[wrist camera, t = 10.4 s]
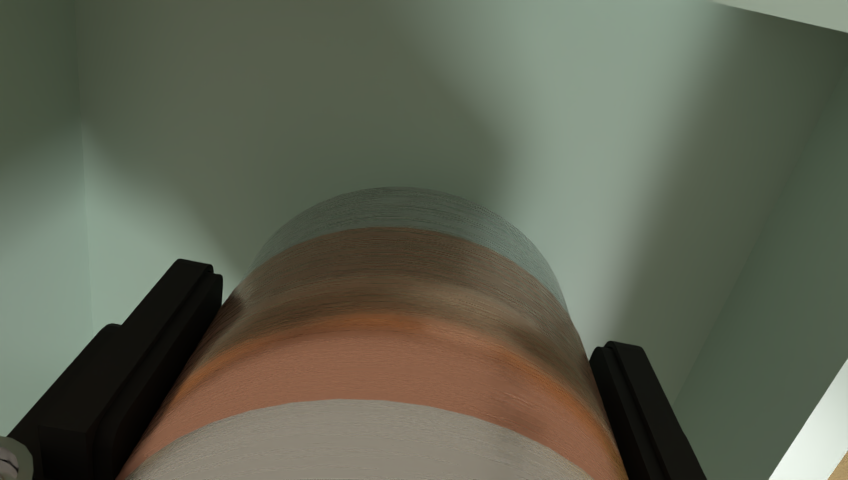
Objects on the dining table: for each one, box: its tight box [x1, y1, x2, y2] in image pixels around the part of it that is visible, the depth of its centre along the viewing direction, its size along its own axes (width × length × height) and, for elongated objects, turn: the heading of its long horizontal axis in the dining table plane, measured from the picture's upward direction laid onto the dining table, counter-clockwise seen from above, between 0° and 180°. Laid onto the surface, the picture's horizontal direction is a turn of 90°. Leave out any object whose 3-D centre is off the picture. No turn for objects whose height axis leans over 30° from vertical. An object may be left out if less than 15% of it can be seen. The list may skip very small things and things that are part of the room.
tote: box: [0, 0, 848, 480], centre depth 12 cm, size 16×16×4 cm
